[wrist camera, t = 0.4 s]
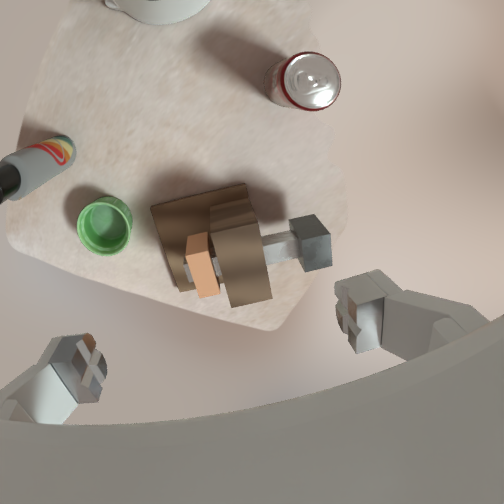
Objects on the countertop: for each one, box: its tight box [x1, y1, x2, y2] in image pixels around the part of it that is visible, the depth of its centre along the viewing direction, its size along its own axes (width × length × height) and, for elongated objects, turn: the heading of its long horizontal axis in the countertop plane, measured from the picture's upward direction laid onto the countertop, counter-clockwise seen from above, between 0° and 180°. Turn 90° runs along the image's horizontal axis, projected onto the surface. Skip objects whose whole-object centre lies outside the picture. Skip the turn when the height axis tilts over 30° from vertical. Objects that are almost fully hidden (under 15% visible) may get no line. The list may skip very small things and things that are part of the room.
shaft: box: [183, 214, 332, 282], centre depth 44 cm, size 5×20×7 cm, turn 101°
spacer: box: [185, 232, 220, 298], centre depth 44 cm, size 7×3×6 cm, turn 11°
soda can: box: [264, 52, 341, 111], centre depth 35 cm, size 7×7×12 cm
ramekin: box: [77, 197, 132, 256], centre depth 45 cm, size 9×9×4 cm
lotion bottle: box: [0, 136, 76, 204], centre depth 31 cm, size 6×6×20 cm
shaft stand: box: [150, 183, 273, 308], centre depth 46 cm, size 16×15×11 cm
